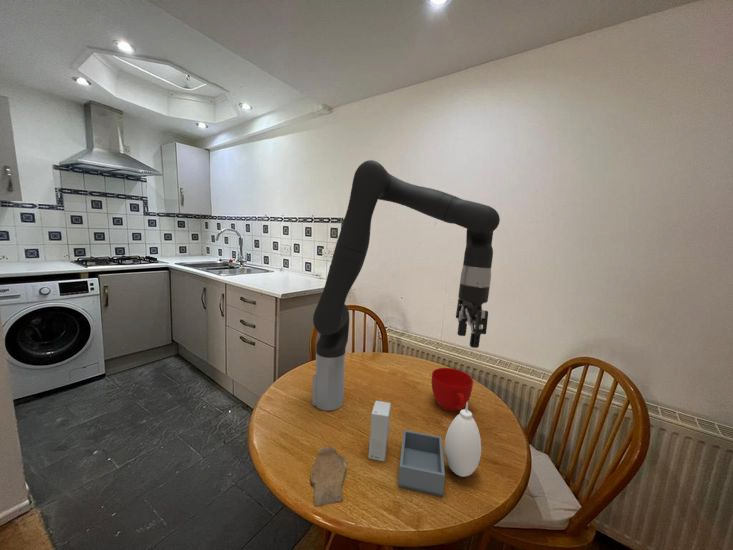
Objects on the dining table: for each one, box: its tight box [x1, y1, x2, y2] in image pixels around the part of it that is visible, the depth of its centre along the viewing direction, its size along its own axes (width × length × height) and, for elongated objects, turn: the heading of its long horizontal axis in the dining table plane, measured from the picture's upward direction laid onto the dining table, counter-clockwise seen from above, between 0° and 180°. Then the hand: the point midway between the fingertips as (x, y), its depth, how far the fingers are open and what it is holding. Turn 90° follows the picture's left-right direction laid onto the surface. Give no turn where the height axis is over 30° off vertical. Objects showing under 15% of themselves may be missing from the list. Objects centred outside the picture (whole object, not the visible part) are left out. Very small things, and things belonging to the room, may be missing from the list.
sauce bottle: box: [443, 400, 482, 478], centre depth 65 cm, size 8×8×18 cm
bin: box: [397, 429, 446, 498], centre depth 66 cm, size 10×12×5 cm
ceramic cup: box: [431, 367, 474, 412], centre depth 90 cm, size 13×17×10 cm
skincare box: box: [368, 400, 392, 462], centre depth 70 cm, size 6×4×12 cm
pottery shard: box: [310, 445, 347, 508], centre depth 64 cm, size 8×3×15 cm
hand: (467, 341), depth 77 cm, fingers open, 8 cm apart
